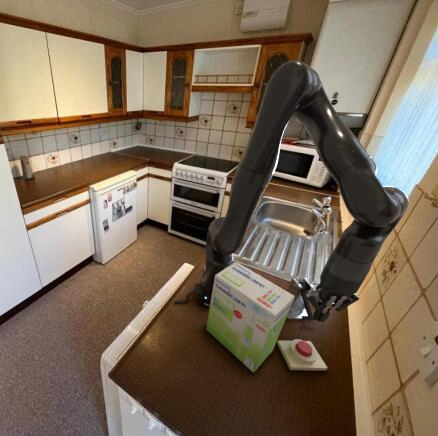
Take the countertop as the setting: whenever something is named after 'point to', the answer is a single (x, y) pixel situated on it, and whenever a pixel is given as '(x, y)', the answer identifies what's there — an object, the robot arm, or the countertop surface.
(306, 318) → the press lever
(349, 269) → the robot arm
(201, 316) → the countertop surface
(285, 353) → the button block
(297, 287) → the grey upright angular piece
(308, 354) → the stop button
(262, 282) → the toothbrush box
